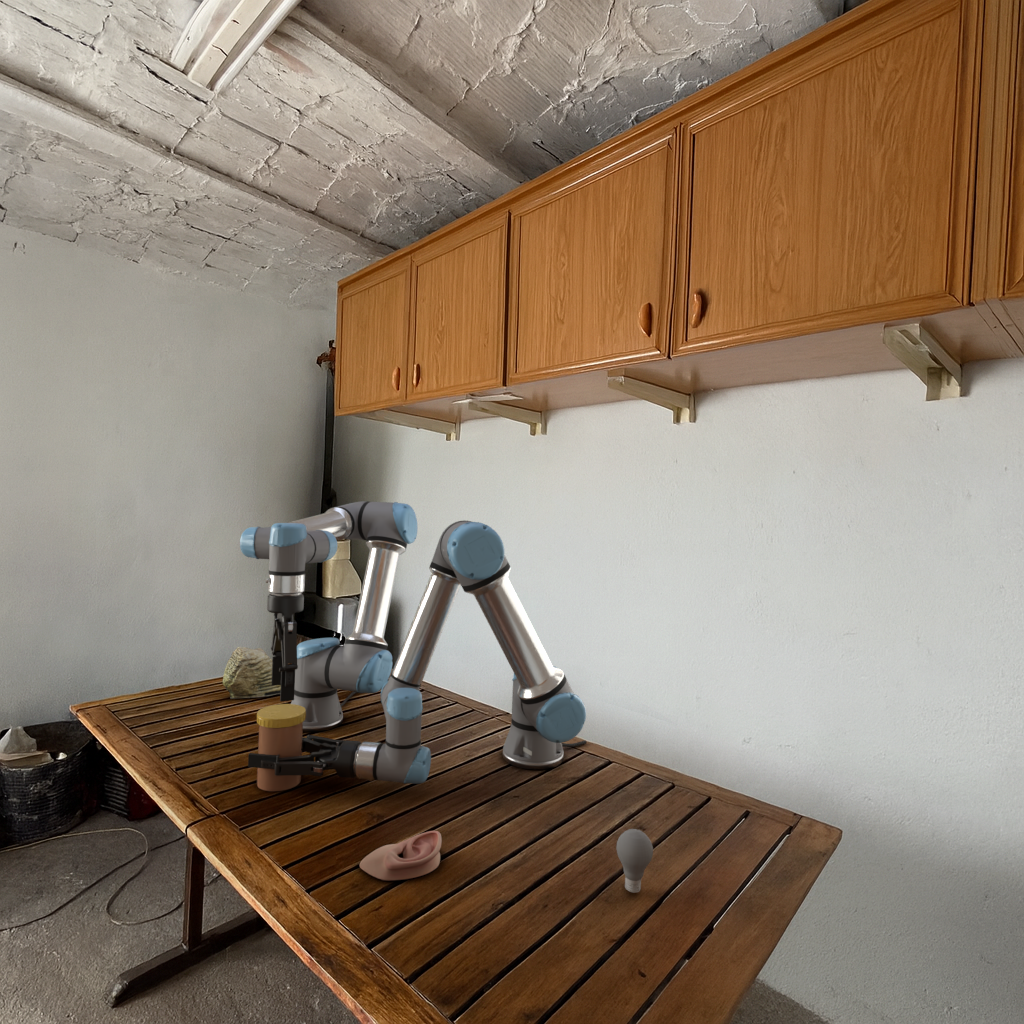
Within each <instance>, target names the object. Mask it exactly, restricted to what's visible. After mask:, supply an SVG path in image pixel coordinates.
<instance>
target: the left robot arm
mask: <svg viewBox="0 0 1024 1024" xmlns="http://www.w3.org/2000/svg"><path fill="white" fill-rule="evenodd" d="M417 537H418V519H417V514H416V512H415V510H414V508H413V507H412V506H411V505H410V504H408V503H402V502H397V501H394V502H391V501H389V502H387V501H369V500H361V501H354V502H350V503H346V504H341V505H338V506H334V507H330V508H329V509H327V510H326V511H325V512H324V513H319V514H317V515H312V516H309V517H308V516H307V517H305V518H300V519H297V520H292V521H289V522H275V523H273V524H272V525H271V526H266V527H265V526H264V527H261V526H250V527H247V528H246V529H244V531H242V533H241V535H240V539H239V548H240V551H241V553H242V554H243V555H244V556H245V557H247V558H252V559H256V560H268V561H269V562H268V577H269V578H266V579H265V583H266V584H267V585H268V586H267V587H268V588H267V592H269V594H268V595H267V600H266V601H267V603H266V604H267V607H266V609H267V612H268V613H271V614H273V627H272V628H273V629H272V638H271V647H270V650H271V655H272V658H271V659H272V686H275V685H281V690H280V694H279V702H290V701H291V702H290V704H295V705H300V706H302V707H304V708H305V709H306V718H305V720H304V721H303V733H316V732H325V731H329V730H332V729H335V728H337V727H339V726H340V725H342V723H343V722H344V714H343V709H342V707H343V706H344V705H345V704H346V703H347V702H348V700H349V699H351V698H352V697H353V696H354V695H356V694H357V693H359V694H376V693H378V692H381V690H382V687H383V686H384V684H385V683H386V682H387V681H388V680H389V678H390V676H391V674H392V671H393V664H394V663H393V655H392V653H391V652H390V651H389V650H388V645H389V644H388V643H387V641H386V640H385V633H386V627H387V622H388V618H389V613H390V607H391V602H392V597H393V591H394V587H395V582H396V577H397V571H398V565H399V561H400V556H401V555H403V554H404V553H405V552H406V551H407V546H408V545H410V544H414V542H415V540H416V539H417ZM342 540H357V541H366V542H365V545H366V546H367V548H368V550H369V553H368V557H367V563H366V567H365V572H364V577H363V581H362V586H361V590H360V595H359V601H358V605H357V610H356V614H355V620H354V624H353V629H352V633H351V634H350V635H348V636H347V637H345V640H344V644H343V645H340V644H341V643H340V642H341V641H340V639H339V638H337V637H320V638H319V637H318V638H313V639H307V640H304V641H302V642H299V643H297V642H298V638H297V637H298V636H297V630H298V629H297V626H298V623H297V621H296V620H295V619H294V614H296V613H301V612H303V611H304V607H305V606H304V605H305V603H304V602H305V595H304V594H303V593H305V583H306V565H307V564H308V565H309V564H315V563H320V564H321V563H324V562H327V561H329V560H332V558H334V557H335V556H336V554H337V551H338V547H339V546H338V541H342ZM338 690H341V691H347V692H348V691H349V692H351V693H350V694H349V695H347V697H346V698H345V699H344V700H343V702H340V699H339V695H338Z"/></svg>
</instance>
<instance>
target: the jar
mask: <svg viewBox="0 0 1024 1024" xmlns="http://www.w3.org/2000/svg"><path fill="white" fill-rule="evenodd" d="M303 733H304V732H303V722H302V723H300V724H298V725H295V726H291V727H284V728H267V727H263V726H260V725H259V724H258V741H257V754H267V755H279V756H280V757H279V758H284V757H294V756H303V752H302V738H303ZM301 781H302V775H280V776H277V775H275V769H265V768H256V786H257V788H258V789H260V790H262V791H266V792H282V791H287V790H290V789H292V788H295V787H296V786H298V785H299V784H300V783H301Z"/></svg>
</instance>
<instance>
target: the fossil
mask: <svg viewBox="0 0 1024 1024" xmlns="http://www.w3.org/2000/svg"><path fill="white" fill-rule="evenodd" d="M222 676H223V677H222V685H223V687H224V688H225V690H226V691H228V693H229V698H230V699H250V698H264V697H271V696H275V695H280V690H281V685H275V686H272V658H271V657H270V656H269V655H268V654H267V653H266V652H265V650H264V649H263V648H260V647H258V648H251V647H247V646H246V647H245V646H238V647H237V648H236V649H235V650H233V651H232V653H231V656H230V657H229V659H228V660H227V663H226V666H225V668H224V671H223V675H222Z"/></svg>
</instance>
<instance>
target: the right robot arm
mask: <svg viewBox="0 0 1024 1024" xmlns="http://www.w3.org/2000/svg"><path fill="white" fill-rule="evenodd" d="M505 551H506V550H505V545H504V542H503V540H502V537H501V536H500V535H499V533H498V532H497V531H496V530H495V529H493V528H492V527H491V526H489V525H488V524H485V523H482V522H479V521H471V520H464V519H463V520H458V521H455V522H453V523H450V524H449V525H448V526H447V527H446V528H444V530H443V531H442V533H441V535H440V537H439V539H438V542H437V545H436V548H435V551H434V554H433V557H432V559H431V562H430V564H429V566H428V569H429V571H430V575H429V578H428V581H427V582H426V585H425V588H424V591H423V593H422V595H421V599H420V600H419V604H418V606H417V608H416V611H415V613H414V616H413V618H412V621H411V623H410V626H409V627H408V631H407V633H406V635H405V638H404V641H403V643H402V646H401V647H400V651H399V653H398V656H397V658H396V661H395V664H394V666H393V667H392V670H391V673H390V676H389V678H388V681H387V682H386V683H385V684H384V686H383V687H382V689H381V690H380V703H381V706H382V709H383V712H384V718H385V727H386V728H385V742H384V743H383V742H375V741H363V742H361V741H359V740H351V739H350V740H348V739H346V740H344V739H333V738H329V737H325V736H324V737H322V736H319V735H313V734H307V735H306V737H304V736H302V753H304V752H305V753H309V754H306V755H305V754H304V755H302V756H294V757H284V758H279V757H280V756H279V755H267V754H258V753H256V752H255V753H254V752H249V753H248V756H247V757H248V758H247V767H248V768H253V769H255V768H256V769H257V768H265V769H275V775H277V776H280V775H301V776H315V777H322V776H324V771H329V770H334V771H335V772H336V775H337V776H338V777H339V778H345V779H346V778H347V779H355V778H357V779H360V780H368V781H369V782H373V781H381V782H382V781H383V782H391V783H392V782H393V783H400V784H404V785H405V784H410V785H411V784H412V785H413V784H414V785H415V784H420V785H421V784H423V783H425V782H426V781H427V779H428V778H429V774H430V770H431V764H432V755H431V754H432V753H431V752H432V751H431V749H430V748H429V747H427V746H424V745H422V739H421V736H422V721H423V720H422V719H423V710H424V705H423V694H422V692H421V691H420V688H421V686H422V684H423V680H424V678H425V676H426V673H427V671H428V668H429V665H430V663H431V661H432V658H433V656H434V653H435V650H436V648H437V646H438V643H439V640H440V638H441V636H442V633H443V631H444V628H445V626H446V624H447V621H448V619H449V615H450V613H451V611H452V608H453V606H454V603H455V601H456V598H457V596H458V593H459V591H460V588H462V590H463V591H464V593H467V594H469V595H473V597H474V598H475V600H476V602H477V604H478V606H479V608H480V610H481V612H482V614H483V616H484V617H485V620H486V621H487V623H488V625H489V627H490V629H491V631H492V633H493V635H494V637H495V640H497V643H498V645H499V646H500V649H501V651H502V652H503V654H504V656H505V658H506V661H507V662H508V664H509V666H510V668H511V671H512V672H513V675H512V676H513V677H512V680H511V681H512V697H511V698H512V699H511V721H510V722H511V724H510V727H509V730H508V733H507V735H506V738H505V741H504V744H503V746H502V758H503V760H504V761H505V762H506V763H507V764H509V765H512V766H514V767H517V768H520V769H525V770H549V769H552V768H556V767H558V766H560V765H561V764H562V763H563V761H564V753H565V752H564V748H574V747H575V748H577V747H581V746H582V745H587V740H582V741H579V742H572V743H567V742H569V741H572V739H574V738H575V737H577V736H578V734H580V732H581V731H582V729H583V728H584V724H585V722H586V719H587V709H586V706H585V703H584V702H583V700H582V698H581V697H580V695H577V694H576V693H575V692H574V690H573V688H572V686H571V685H570V682H569V680H568V678H567V676H566V674H565V673H564V670H562V669H561V668H559V667H558V666H555V665H553V664H552V661H551V660H550V657H549V655H548V653H547V651H546V649H545V648H544V645H543V643H542V641H541V640H540V638H539V636H538V634H537V631H536V630H535V628H534V626H533V624H532V622H531V620H530V618H529V615H528V614H527V612H526V610H525V608H524V605H523V604H522V601H521V600H520V598H519V595H518V594H517V592H516V590H515V588H514V586H513V584H512V582H511V580H510V578H509V576H510V573H511V569H512V567H511V565H510V563H509V561H508V559H507V556H506V555H505V554H506V553H505Z"/></svg>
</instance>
